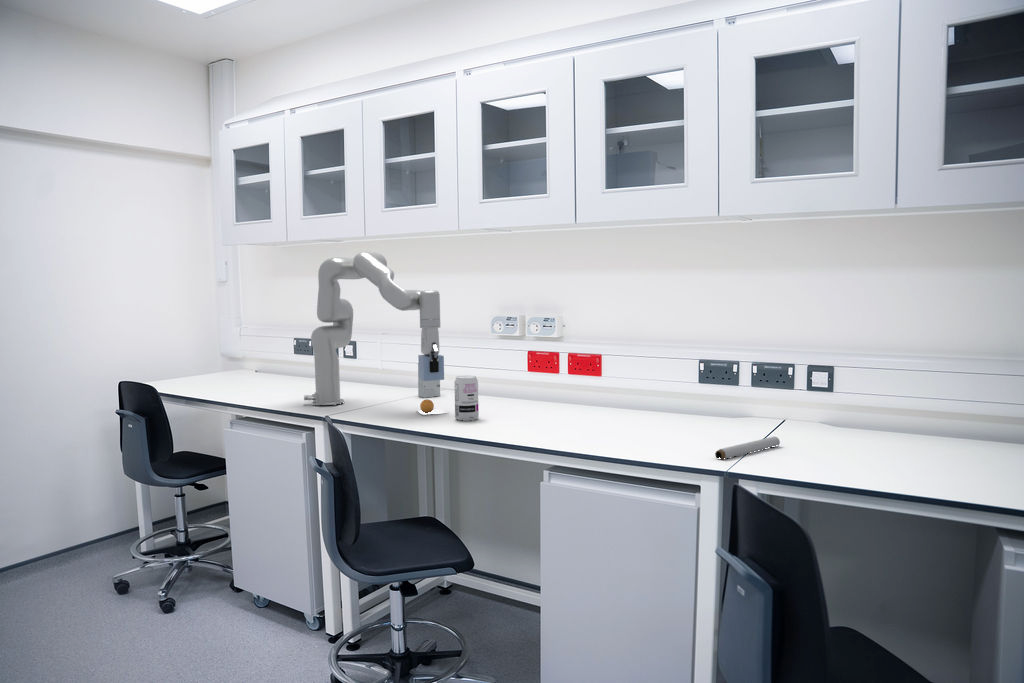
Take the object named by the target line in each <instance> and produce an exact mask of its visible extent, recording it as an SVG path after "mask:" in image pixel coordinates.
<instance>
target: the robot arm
mask: <svg viewBox="0 0 1024 683" xmlns="http://www.w3.org/2000/svg"><path fill="white" fill-rule="evenodd" d="M317 272H318V275H317V276H318V277H317V278H318V279H317V280H318V281H317V282H318V289H317V290H318V291H317V292H318V293H317V304H316V305H317V306H316V316H317V317H316V318H317V319H318V320H319V321H320V322H322V323H328V324H329V323H332V325H323V326H322V325H321V326H319V327H316V328H315V329H314V330H313V331H312V333H311V336H310V340H311V346H312V350H313V356H314V360H313V361H314V377H315V378H314V380H315V392H314V393H313V394H311V395H308V394H307V395H305V394H304V395H303V400H304V401H311V403H312V406H315V405H333V406H336V405H335V404H340V403H343V402H344V403H345V399H343V398H341V380H340V358H339V355H338V353H337V351H336V349H341V348H345V347H347V346H348V345H349V344H350V342H351V340H352V336H353V324H354V323H353V321H354V308H353V305H352V303H351V302H350V301H349V300H347V299H345V298H341V285H340V283H339V280H360V279H361V280H362V279H367V280H368V281H369V282H370V283H372V284H373V285H374V286H375V287H377V288H378V292H379V294H380V296H381V297H382V298H383V300H385V301H386V302H387V303H388V304H389V305H390V306H392V307H393V308H395V309H396V310H399V311H419V328H420V329H421V331H420V333H421V335H420V352H421V354H422V355H430V361H431V362H430V372H431V373H433V372H439V362H438V354H439V353H440V336H439V335H440V334H439V333H440V332H439V328H441V301H440V300H441V298H440V297H441V296H440V292H439V291H438V290H435V289H434V290H430V289H429V290H418V289H403V288H402V287H400V286H398V285H397V284H396V283H395V282H394V278H395V272H394V270H392V268H390V267H388V262H387V259H386V257H385V256H384V255H382V254H381V253H378V252H371V251H369V252H368V251H362V252H359V253H357V254H356V255H355V256H354V257H340V256H339V257H330V258H327V259H326V260H324V261H323V262H322V263H321V264H320V266H319V268H318V271H317ZM439 355H440V354H439ZM344 403H343V404H344ZM340 405H341V404H340Z"/></svg>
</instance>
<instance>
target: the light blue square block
mask: <svg viewBox="0 0 1024 683" xmlns="http://www.w3.org/2000/svg"><path fill="white" fill-rule="evenodd" d="M417 356H418V357H417V358H418V363H419V379H421V380H423V381H431V380H440V381H443V380H445V358H444V355H442V354H438V362H439V372H433V373H431V372H430V362H431V361H430V355H424V354H419V355H417Z"/></svg>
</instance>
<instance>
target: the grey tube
mask: <svg viewBox="0 0 1024 683" xmlns="http://www.w3.org/2000/svg"><path fill="white" fill-rule="evenodd" d="M780 443H781V441H780V439H779V437H777V436H771V437H766V438H762V439H758V440H753V441H749V442H745V443H740V444H736V445H733V446H728V447H723V448H719V449H718V450H716V451H715V453H714V454H715V455H714V456H715V458H716V459H717V458H719V457H720V458H721V459H724V458H725V459H726V458H730V457H734V456H738V455H742V454H746V453H750V452H754V451H758V450H762V449H765V448H768V447H772V446H776V445H779V444H780ZM779 446H780V445H779ZM762 451H763V450H762ZM758 452H759V451H758ZM754 453H755V452H754ZM750 454H751V453H750ZM746 455H747V454H746ZM742 456H743V455H742ZM738 457H739V456H738ZM734 458H735V457H734ZM730 459H731V458H730ZM726 460H727V459H726Z"/></svg>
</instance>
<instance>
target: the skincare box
mask: <svg viewBox="0 0 1024 683" xmlns="http://www.w3.org/2000/svg"><path fill="white" fill-rule="evenodd" d="M417 379H418V380H417V388H418V389H417V394H418V397H420V398H422V397H423V398H422V399H426V398H425V397H429V398H433V397H432V396H440V397H441V380H431V381H423V380H421V379H419V362H418V363H417Z"/></svg>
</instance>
